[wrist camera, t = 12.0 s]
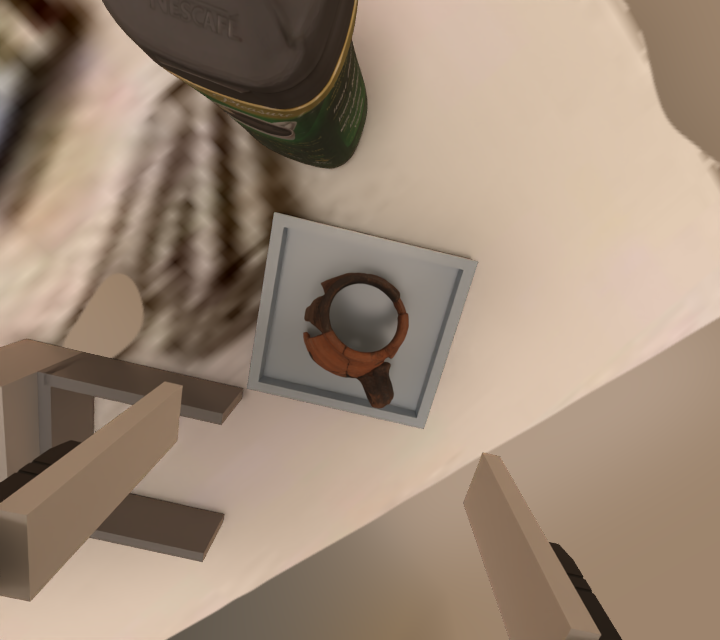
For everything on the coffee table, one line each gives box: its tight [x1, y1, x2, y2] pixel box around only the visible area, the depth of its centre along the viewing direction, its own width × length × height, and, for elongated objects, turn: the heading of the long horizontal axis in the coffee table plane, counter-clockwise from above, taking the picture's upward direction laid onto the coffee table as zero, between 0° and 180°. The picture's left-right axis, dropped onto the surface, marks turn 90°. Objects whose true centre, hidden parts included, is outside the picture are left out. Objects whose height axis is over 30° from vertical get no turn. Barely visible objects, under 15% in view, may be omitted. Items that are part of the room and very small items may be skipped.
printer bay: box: [0, 339, 243, 562], centre depth 34 cm, size 23×18×8 cm
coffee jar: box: [102, 0, 367, 168], centre depth 19 cm, size 10×8×19 cm
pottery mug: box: [303, 273, 409, 409], centre depth 30 cm, size 12×10×8 cm
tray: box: [247, 212, 478, 429], centre depth 32 cm, size 18×17×2 cm
